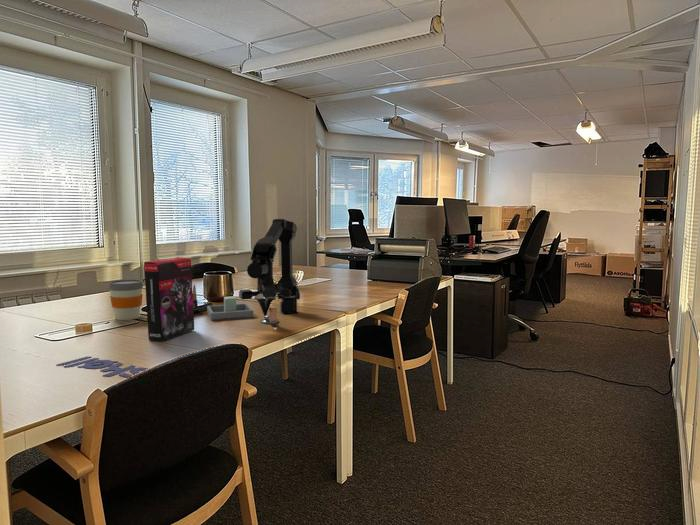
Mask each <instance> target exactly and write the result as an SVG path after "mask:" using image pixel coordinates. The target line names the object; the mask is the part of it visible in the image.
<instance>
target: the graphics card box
mask: <svg viewBox="0 0 700 525" xmlns="http://www.w3.org/2000/svg"><path fill="white" fill-rule="evenodd" d="M143 268H144V269H143V270H144V285H145V288H144V289H145V301H146V302H145V303H146V318H147V336H148V340H149V341H157V342H165V341H166V340H170V339H173V338H175V337H177V336H180V335H184V334H187V333H189V332H191V331H194V330H195V315H194V314H195V312H194V310H193V278H192V277H193V275H192V274H193V273H192V272H193V271H192V259H191V258H190V257H189V258H188V257H180V256H179V257H178V256H177V257H173V258H165V259H158V260H150V261H149V260H148V261H144V262H143Z"/></svg>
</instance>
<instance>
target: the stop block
mask: <svg viewBox="0 0 700 525" xmlns="http://www.w3.org/2000/svg"><path fill="white" fill-rule="evenodd" d="M236 304H237V297H236V296H234V295H232V296H223V305H224V312H233V311H236Z"/></svg>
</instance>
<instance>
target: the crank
mask: <svg viewBox="0 0 700 525" xmlns="http://www.w3.org/2000/svg"><path fill="white" fill-rule="evenodd" d="M263 316H264V315H263ZM263 319H264V320H266V321H269V322H270V324H269V325H274V323H275V324H277V323H276V321H277V319H278V307H277V306H271V307H270V306H269V309H268V314H267V315H266V316H264V317H263Z"/></svg>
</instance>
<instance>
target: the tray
mask: <svg viewBox="0 0 700 525" xmlns="http://www.w3.org/2000/svg"><path fill="white" fill-rule="evenodd" d="M206 313H207V315H208V317H209V320H210V322H215V321H223V320H224V321H225V320H238V319H240V320H241V319H251V318H253V319H254V310H253V308H252V307H251V306H250V305H249V304H248V303H247V302H245V303H236V311H233V312H224V304H219V305H215V304H214V305H207V306H206Z"/></svg>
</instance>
